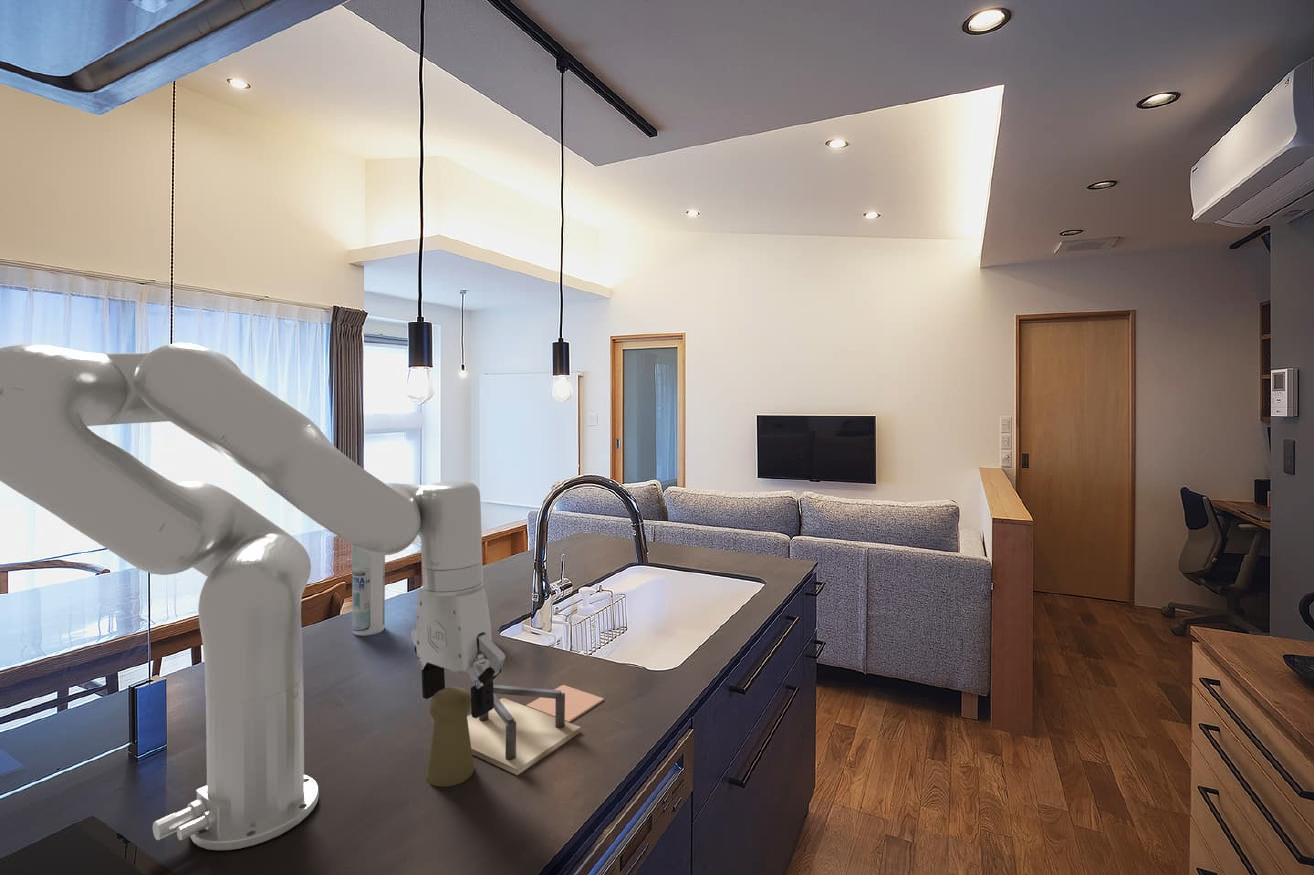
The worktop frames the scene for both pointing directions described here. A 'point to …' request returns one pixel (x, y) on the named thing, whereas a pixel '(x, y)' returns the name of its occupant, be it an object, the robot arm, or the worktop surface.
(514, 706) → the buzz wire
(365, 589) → the spray can
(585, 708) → the pad
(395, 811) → the worktop surface
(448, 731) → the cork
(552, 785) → the worktop surface
